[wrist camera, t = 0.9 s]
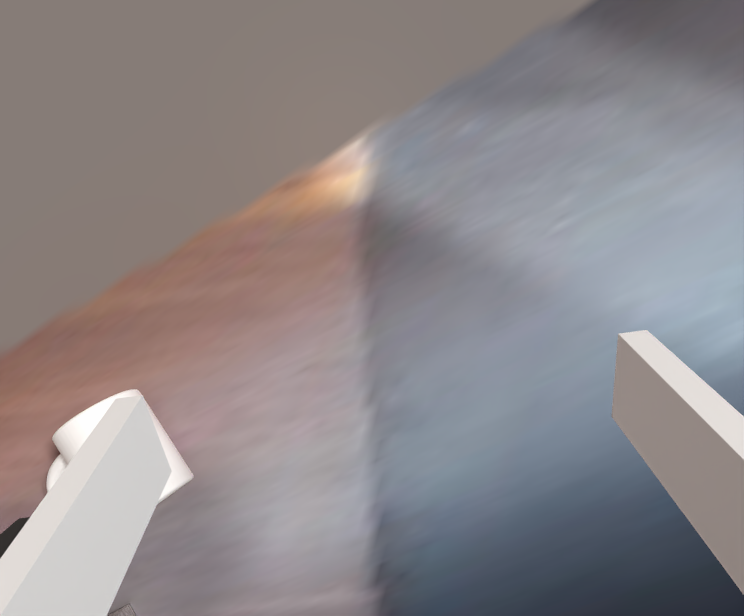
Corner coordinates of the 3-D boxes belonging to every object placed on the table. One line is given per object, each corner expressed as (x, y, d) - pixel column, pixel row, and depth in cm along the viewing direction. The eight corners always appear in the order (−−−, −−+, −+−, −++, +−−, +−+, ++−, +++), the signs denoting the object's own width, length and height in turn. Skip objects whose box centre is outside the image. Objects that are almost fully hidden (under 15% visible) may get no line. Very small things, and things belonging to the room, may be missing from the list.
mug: (153, 383, 51) (104, 394, 44) (208, 468, 51) (167, 494, 43) (59, 451, 52) (-6, 474, 44) (112, 536, 51) (54, 574, 43)
